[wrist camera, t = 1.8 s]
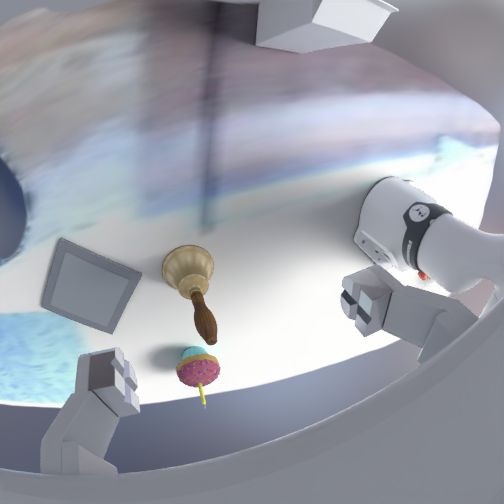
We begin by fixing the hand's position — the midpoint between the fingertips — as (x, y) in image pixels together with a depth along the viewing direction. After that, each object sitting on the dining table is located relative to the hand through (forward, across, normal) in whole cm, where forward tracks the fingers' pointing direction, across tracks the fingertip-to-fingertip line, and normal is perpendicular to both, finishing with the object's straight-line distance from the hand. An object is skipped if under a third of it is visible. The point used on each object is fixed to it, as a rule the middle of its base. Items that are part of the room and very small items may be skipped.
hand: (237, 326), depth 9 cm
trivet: (+31, +19, +16) cm, 40 cm away
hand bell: (+32, +2, +18) cm, 36 cm away
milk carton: (+32, -18, -16) cm, 40 cm away
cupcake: (+32, +6, +38) cm, 50 cm away
